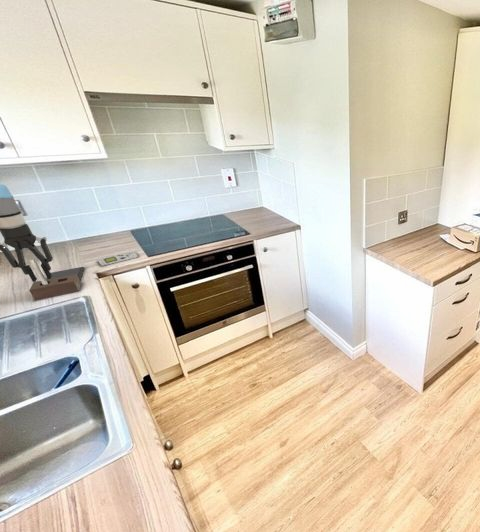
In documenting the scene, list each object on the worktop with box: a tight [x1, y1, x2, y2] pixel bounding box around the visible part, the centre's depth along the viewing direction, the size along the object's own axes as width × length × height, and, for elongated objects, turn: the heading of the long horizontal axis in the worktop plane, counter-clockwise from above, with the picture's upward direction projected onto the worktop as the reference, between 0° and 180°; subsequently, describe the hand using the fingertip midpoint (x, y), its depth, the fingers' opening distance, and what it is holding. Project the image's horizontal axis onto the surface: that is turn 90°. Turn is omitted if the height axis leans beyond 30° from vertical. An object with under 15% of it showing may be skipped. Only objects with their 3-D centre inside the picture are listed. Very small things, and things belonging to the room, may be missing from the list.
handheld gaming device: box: [97, 251, 139, 267], centre depth 166 cm, size 9×1×15 cm
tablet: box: [45, 266, 85, 281], centre depth 147 cm, size 12×16×1 cm
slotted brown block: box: [28, 274, 82, 301], centre depth 136 cm, size 8×13×5 cm, turn 126°
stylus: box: [28, 258, 48, 285], centre depth 133 cm, size 2×2×16 cm
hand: (42, 278), depth 133 cm, fingers open, 4 cm apart
